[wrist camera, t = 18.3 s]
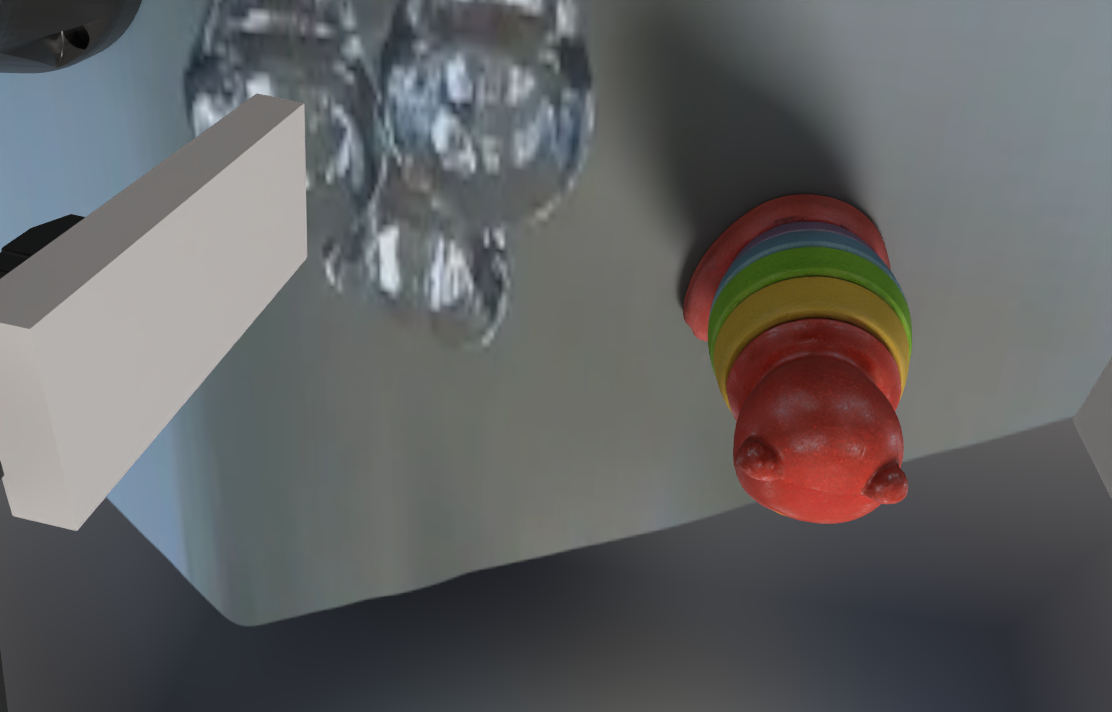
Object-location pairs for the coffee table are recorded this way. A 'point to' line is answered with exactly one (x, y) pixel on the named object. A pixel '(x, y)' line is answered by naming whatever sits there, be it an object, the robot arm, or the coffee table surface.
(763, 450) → the stacking bear
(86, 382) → the robot arm
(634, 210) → the coffee table surface
